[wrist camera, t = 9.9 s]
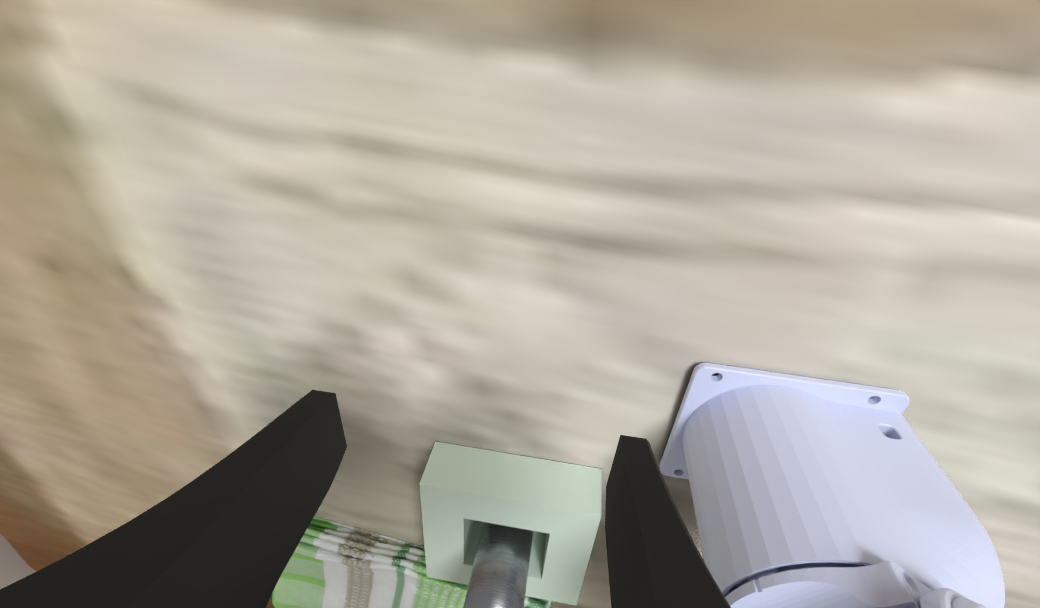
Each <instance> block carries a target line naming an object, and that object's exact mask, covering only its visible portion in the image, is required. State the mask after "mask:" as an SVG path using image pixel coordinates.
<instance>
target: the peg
mask: <svg viewBox="0 0 1040 608" xmlns="http://www.w3.org/2000/svg"><path fill="white" fill-rule="evenodd" d="M532 539H533V531H531V530H526V529H520V528H515V527H509V526H504V525H498V524H492V523H487V522H483V523H482V528H481V532H480V536H479V541H478V545H477V549H476V554H475V558H474V563H473V567H472V571H471V576H470V580H469V584H468V589H467V593H466V597H465V602H464V606H463V608H524V601H525V593H526V585H527V578H528V570H529V562H530V554H531V547H532Z"/></svg>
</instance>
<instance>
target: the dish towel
mask: <svg viewBox="0 0 1040 608" xmlns="http://www.w3.org/2000/svg"><path fill="white" fill-rule="evenodd" d="M467 589H468V585H466V584H461V583H455V582H450V581H445V580H440V579H434V578H429V577H427V571H426V559H425V547H422V546H418V545H414V544H411V543H407V542H404V541H401V540H397V539H393V538H390V537H387V536H383V535H380V534H377V533H374V532H370V531H367V530H363V529H359V528H356V527H352V526H347V525H343V524H340V523H337V522H332V521H328V520H325V519H321V518H318V517H313V519H312V521H311V523H310V524H309V526H308V528H307V530H306V531H305V533H304V535H303V537H302V539H301V540H300V542H299V544H298V546H297V547H296V549H295V551H294V553H293V555H292V556H291V558H290V560H289V562H288V564H287V565H286V567H285V569H284V571H283V573H282V575H281V576H280V578H279V580H278V582H277V584H276V586H275V588H274V590H273V592H272V603H273V605H274V607H275V608H463V606H464V602H465V597H466V593H467ZM554 602H555V601H549V600H544V599H539V598H534V597H529V596H525V601H524V608H549V607H550V606H551V605H553V604H554Z"/></svg>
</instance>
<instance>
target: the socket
mask: <svg viewBox="0 0 1040 608" xmlns="http://www.w3.org/2000/svg"><path fill="white" fill-rule="evenodd" d="M419 487H420V499H421V511H422V523H423V535H424V547H425V559H426V571H427V577H429V578H434V579H440V580H445V581H450V582H455V583H461V584H466V585H468V584H469V580H470V576H471V571H472V567H473V563H474V558H475V554H476V549H477V545H478V541H479V536H480V532H481V528H482V523H483V522H487V523H492V524H498V525H504V526H509V527H515V528H520V529H526V530H531V531H533V539H532V547H531V554H530V562H529V570H528V578H527V585H526V593H525V596H529V597H534V598H539V599H544V600H549V601H555V602H560V603H565V604H570V605H577V601H578V598H579V594H580V591H581V587H582V583H583V580H584V576H585V573H586V569H587V565H588V562H589V558H590V555H591V551H592V547H593V544H594V540H595V537H596V533H597V530H598V526H599V522H600V519H601V469H599V468H593V467H587V466H581V465H575V464H569V463H563V462H557V461H551V460H545V459H539V458H533V457H527V456H521V455H514V454H508V453H502V452H496V451H490V450H484V449H478V448H472V447H466V446H460V445H454V444H448V443H442V442H436V441H435V444H434V447H433V449H432V452H431V454H430V457H429V460H428V462H427V465H426V468H425V470H424V473H423V476H422V478H421V481H420V483H419ZM474 520H476V521H474ZM480 521H481V522H480ZM535 531H537V532H535ZM541 532H543V533H541Z"/></svg>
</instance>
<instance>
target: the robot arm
mask: <svg viewBox="0 0 1040 608" xmlns="http://www.w3.org/2000/svg"><path fill="white" fill-rule="evenodd" d="M714 373H720V374H719V375H717V376H712V374H714ZM872 396H875V397H873V398H870V397H872ZM909 402H910V399H909V397H908V396H907V395H906V394H905V393H904V392H903V391H900V390H894V389H887V388H880V387H873V386H866V385H859V384H852V383H845V382H838V381H831V380H824V379H817V378H810V377H803V376H796V375H789V374H782V373H775V372H768V371H761V370H754V369H747V368H740V367H733V366H726V365H719V364H712V363H701V364H698V365H697V366H695V368H694V370H693V372H692V375H691V378H690V381H689V384H688V386H687V389H686V392H685V395H684V398H683V400H682V403H681V406H680V409H679V412H678V414H677V417H676V420H675V423H674V425H673V428H672V431H671V434H670V437H669V439H668V442H667V445H666V448H665V451H664V453H663V456H662V459H661V462H660V470H659V467H658V465H657V462H656V460H655V457H654V454H653V452H652V449H651V446H650V443H649V442H648V441H647V439H644V438H637V437H630V436H623V435H620V439H619V442H618V446H617V450H616V453H615V457H614V461H613V464H612V468H611V471H610V475H609V479H608V482H607V486H606V518H605V532H606V545H607V557H608V570H609V582H610V594H611V606H612V608H1004V604H1005V588H1004V580H1003V575H1002V570H1001V567H1000V563H999V559H998V556H997V554H996V551H995V548H994V546H993V543H992V541H991V539H990V537H989V535H988V533H987V532H986V530H985V528H984V527H983V525H982V524H981V522H980V521H979V519H978V518H977V516H976V515H975V514H974V512H973V511H972V510H971V508H970V507H969V505H968V504H967V503H966V501H965V500H964V499H963V497H962V496H961V495H960V493H959V492H958V490H957V489H956V488H955V486H954V485H953V484H952V482H951V481H950V480H949V478H948V477H947V475H946V474H945V473H944V471H943V470H942V469H941V467H940V466H939V465H938V463H937V462H936V460H935V459H934V458H933V456H932V455H931V454H930V452H929V451H928V450H927V448H926V447H925V445H924V444H923V443H922V441H921V440H920V439H919V437H918V436H917V435H916V433H915V432H914V430H913V429H912V428H911V426H910V425H909V424H908V422H907V421H906V420H905V418H904V417H903V415H902V413H903V411H904V410H905V409H906V407H907V406H908V405H909ZM346 448H347V445H346V440H345V436H344V431H343V427H342V422H341V417H340V413H339V408H338V403H337V399H336V394H335V393H330V392H323V391H316V390H312V391H311V392H309V393H308V394H307V395H305V396H304V397H303V398H301V399H300V400H299V401H298V402H296V403H295V404H294V405H293V406H291V407H290V408H289V409H287V410H286V411H285V412H284V413H282V414H281V415H280V416H279V417H277V418H276V419H275V420H274V421H272V422H271V423H270V424H269V425H267V426H266V427H265V428H263V429H262V430H261V431H260V432H258V433H257V434H256V435H254V436H253V437H252V438H251V439H249V440H248V441H247V442H245V443H244V444H243V445H241V446H240V447H239V448H237V449H236V450H235V451H234V452H232V453H231V454H230V455H228V456H227V457H225V458H224V459H223V460H221V461H220V462H219V463H217V464H216V465H214V466H213V467H212V468H210V469H209V470H207V471H206V472H204V473H203V474H202V475H200V476H199V477H197V478H196V479H195V480H193V481H192V482H190V483H189V484H187V485H186V486H184V487H183V488H181V489H180V490H178V491H177V492H175V493H174V494H172V495H171V496H169V497H168V498H166V499H165V500H163V501H162V502H160V503H158V504H157V505H155V506H154V507H152V508H150V509H149V510H147V511H146V512H144V513H142V514H141V515H139V516H137V517H136V518H134V519H132V520H131V521H129V522H127V523H126V524H124V525H122V526H120V527H119V528H117V529H115V530H113V531H111V532H110V533H108V534H106V535H104V536H102V537H101V538H99V539H97V540H95V541H94V542H92V543H90V544H88V545H86V546H85V547H83V548H81V549H79V550H77V551H76V552H74V553H72V554H70V555H68V556H66V557H64V558H63V559H61V560H59V561H57V562H55V563H53V564H51V565H49V566H47V567H45V568H43V569H41V570H39V571H37V572H35V573H33V574H31V575H29V576H27V577H25V578H23V579H21V580H19V581H17V582H15V583H13V584H11V585H9V586H7V587H5V588H3V589H1V590H0V608H266V606H267V603H268V601H269V599H270V597H271V594H272V592H273V590H274V588H275V586H276V584H277V582H278V580H279V578H280V576H281V575H282V573H283V571H284V569H285V567H286V565H287V564H288V562H289V560H290V558H291V556H292V555H293V553H294V551H295V549H296V547H297V546H298V544H299V542H300V540H301V539H302V537H303V535H304V533H305V531H306V530H307V528H308V526H309V524H310V523H311V521H312V519H313V517H314V515H315V514H316V512H317V510H318V508H319V506H320V505H321V503H322V501H323V499H324V497H325V495H326V494H327V492H328V490H329V488H330V486H331V484H332V482H333V480H334V477H335V475H336V472H337V470H338V468H339V465H340V463H341V460H342V458H343V455H344V453H345V450H346ZM677 469H679V470H677ZM661 473H662V474H663V475H665V476H670V477H676V478H682V479H688V480H689V483H690V489H691V494H692V499H693V505H694V510H695V516H696V521H697V527H698V532H699V537H700V543H701V548H702V554H703V559H704V561H703V559H702V557H701V555H700V553H699V551H698V550H697V548H696V546H695V544H694V542H693V540H692V538H691V536H690V534H689V532H688V530H687V528H686V526H685V524H684V522H683V520H682V518H681V516H680V514H679V512H678V510H677V508H676V506H675V504H674V502H673V499H672V497H671V495H670V493H669V491H668V488H667V486H666V484H665V481H664V479H663V477H662V474H661Z"/></svg>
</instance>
